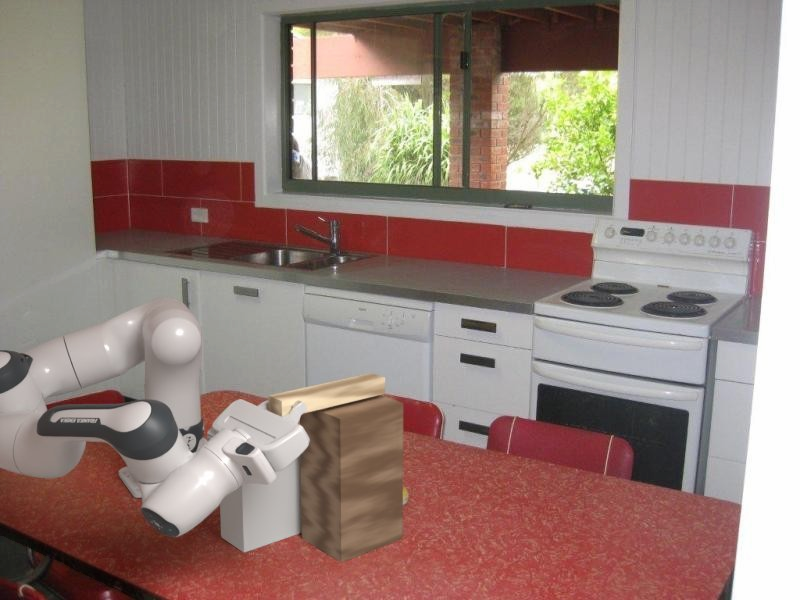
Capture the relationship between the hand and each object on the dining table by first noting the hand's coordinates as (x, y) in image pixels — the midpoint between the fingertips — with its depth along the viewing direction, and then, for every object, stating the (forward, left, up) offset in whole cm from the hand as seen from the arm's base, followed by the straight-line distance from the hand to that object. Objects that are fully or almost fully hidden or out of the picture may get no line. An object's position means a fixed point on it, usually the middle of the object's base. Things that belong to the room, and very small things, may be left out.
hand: (294, 400), depth 156 cm
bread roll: (-9, +28, -29) cm, 42 cm away
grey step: (-12, +2, -29) cm, 31 cm away
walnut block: (0, +12, -29) cm, 31 cm away
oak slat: (0, +7, -2) cm, 7 cm away
